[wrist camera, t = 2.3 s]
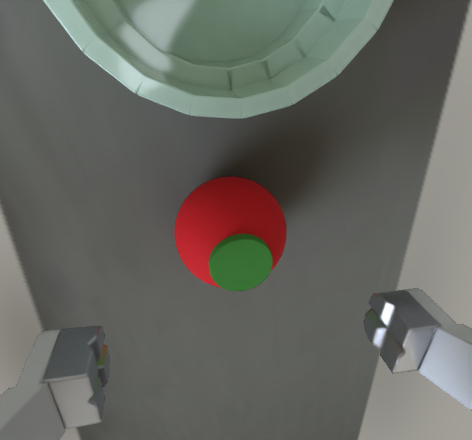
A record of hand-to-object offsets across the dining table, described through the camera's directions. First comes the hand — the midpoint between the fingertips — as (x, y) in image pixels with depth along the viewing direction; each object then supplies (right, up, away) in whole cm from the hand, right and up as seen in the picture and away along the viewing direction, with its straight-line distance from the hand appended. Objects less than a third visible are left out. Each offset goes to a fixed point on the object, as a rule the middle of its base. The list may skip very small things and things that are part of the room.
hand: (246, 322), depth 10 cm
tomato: (-1, +4, +7) cm, 8 cm away
